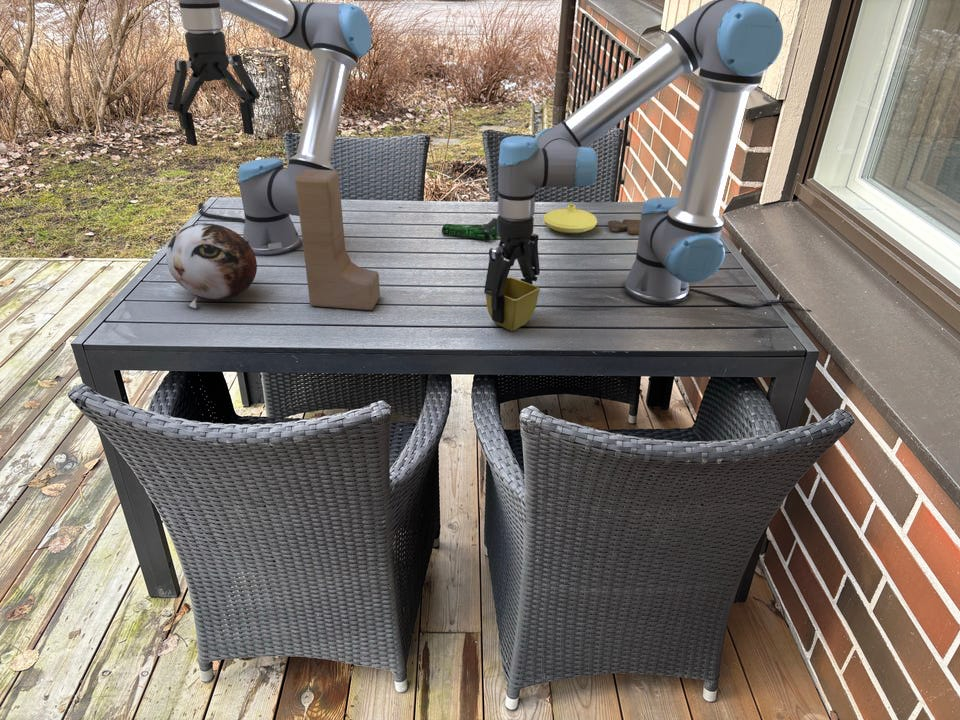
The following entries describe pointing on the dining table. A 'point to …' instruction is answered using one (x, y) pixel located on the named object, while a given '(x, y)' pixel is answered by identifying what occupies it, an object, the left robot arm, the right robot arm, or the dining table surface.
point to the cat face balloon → (211, 261)
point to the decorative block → (330, 246)
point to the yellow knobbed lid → (570, 220)
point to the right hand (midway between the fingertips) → (511, 313)
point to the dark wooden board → (625, 226)
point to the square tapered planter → (516, 303)
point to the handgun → (473, 230)
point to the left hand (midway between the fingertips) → (221, 139)
